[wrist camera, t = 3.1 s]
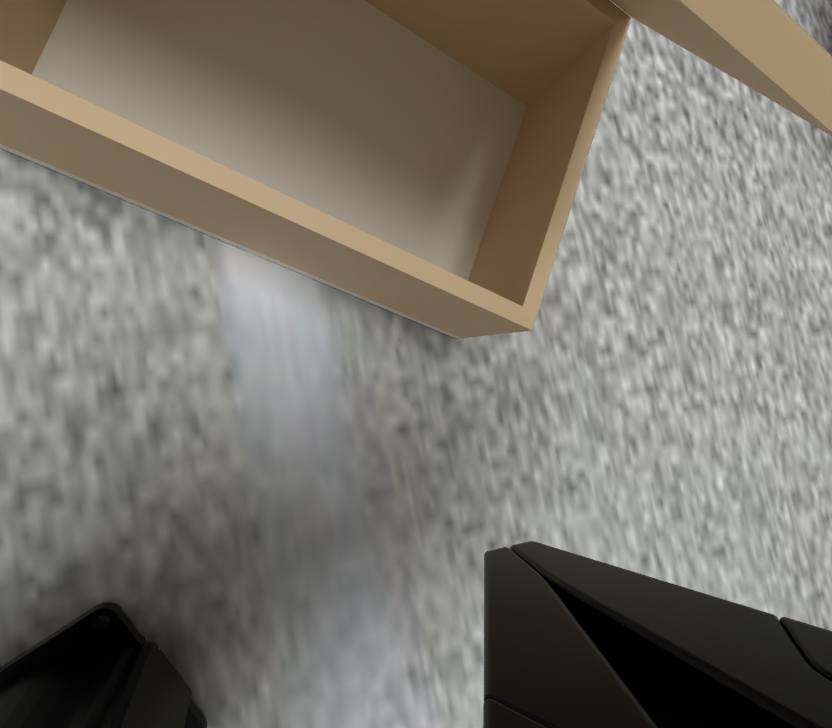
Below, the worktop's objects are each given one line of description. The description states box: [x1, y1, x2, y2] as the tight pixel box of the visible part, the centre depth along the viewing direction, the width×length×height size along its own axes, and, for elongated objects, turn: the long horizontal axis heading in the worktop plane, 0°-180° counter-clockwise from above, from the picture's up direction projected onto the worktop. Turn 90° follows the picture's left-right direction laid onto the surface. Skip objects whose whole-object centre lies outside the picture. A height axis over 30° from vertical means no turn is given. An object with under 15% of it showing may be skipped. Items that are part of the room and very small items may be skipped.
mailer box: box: [0, 0, 631, 339], centre depth 15 cm, size 12×18×6 cm, turn 70°
